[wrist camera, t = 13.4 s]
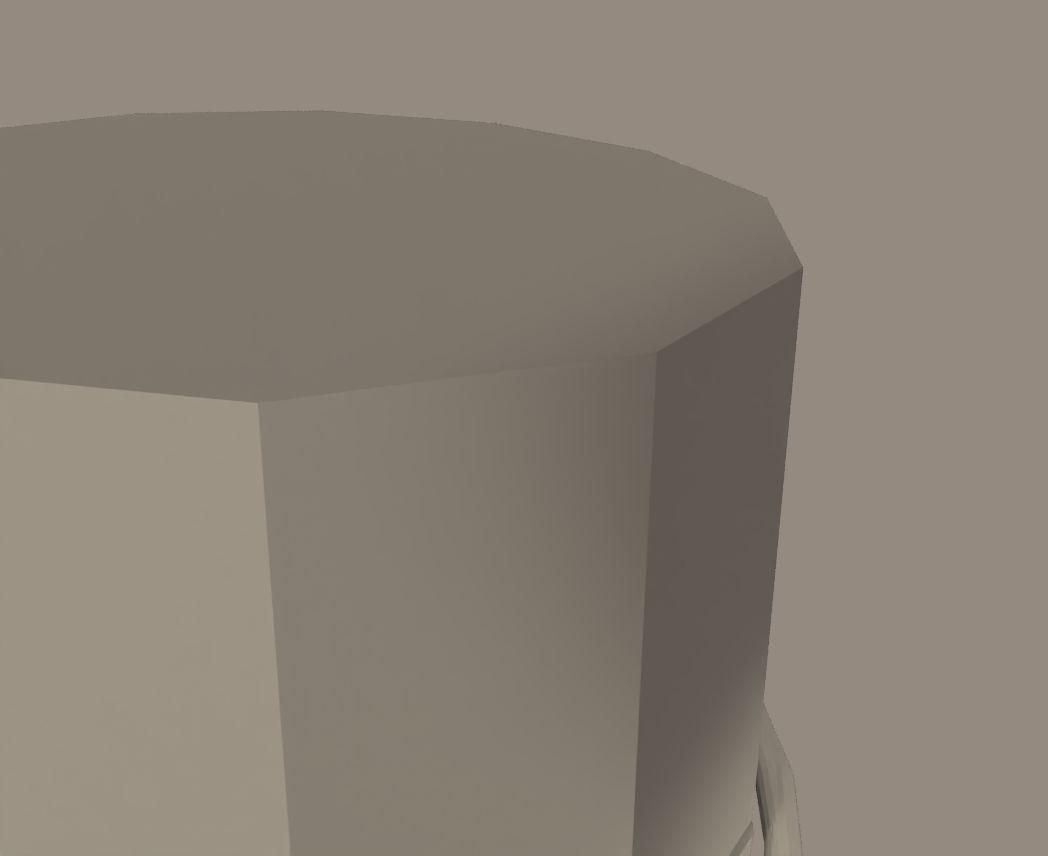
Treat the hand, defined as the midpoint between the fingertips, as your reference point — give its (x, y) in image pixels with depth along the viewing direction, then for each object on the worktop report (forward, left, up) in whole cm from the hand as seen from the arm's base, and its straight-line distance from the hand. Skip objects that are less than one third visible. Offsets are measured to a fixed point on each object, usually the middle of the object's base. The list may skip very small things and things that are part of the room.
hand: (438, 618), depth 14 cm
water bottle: (-3, +5, -18) cm, 19 cm away
